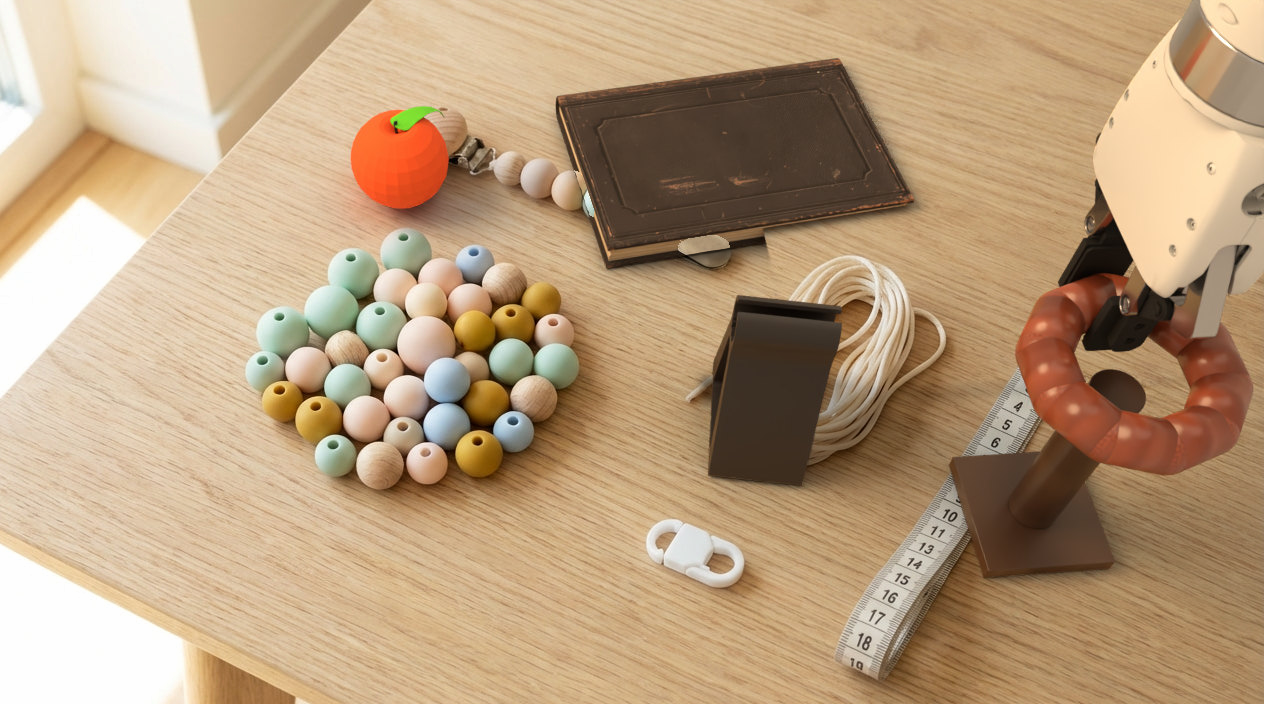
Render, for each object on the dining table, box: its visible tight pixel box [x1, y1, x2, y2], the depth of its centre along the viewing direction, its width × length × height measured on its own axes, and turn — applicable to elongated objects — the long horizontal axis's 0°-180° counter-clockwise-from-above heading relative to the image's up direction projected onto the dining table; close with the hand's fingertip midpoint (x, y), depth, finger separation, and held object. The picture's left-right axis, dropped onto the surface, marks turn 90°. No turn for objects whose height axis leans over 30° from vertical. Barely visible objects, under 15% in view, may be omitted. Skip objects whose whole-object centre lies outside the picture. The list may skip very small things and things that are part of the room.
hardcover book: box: [555, 57, 915, 270], centre depth 92 cm, size 16×23×2 cm
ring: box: [1014, 273, 1254, 477], centre depth 63 cm, size 12×12×3 cm
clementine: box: [350, 105, 450, 210], centre depth 87 cm, size 8×7×7 cm
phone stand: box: [707, 294, 843, 486], centre depth 75 cm, size 9×6×12 cm, turn 174°
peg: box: [948, 368, 1147, 579], centre depth 71 cm, size 8×8×14 cm
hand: (1098, 314), depth 67 cm, fingers closed on ring, 3 cm apart
